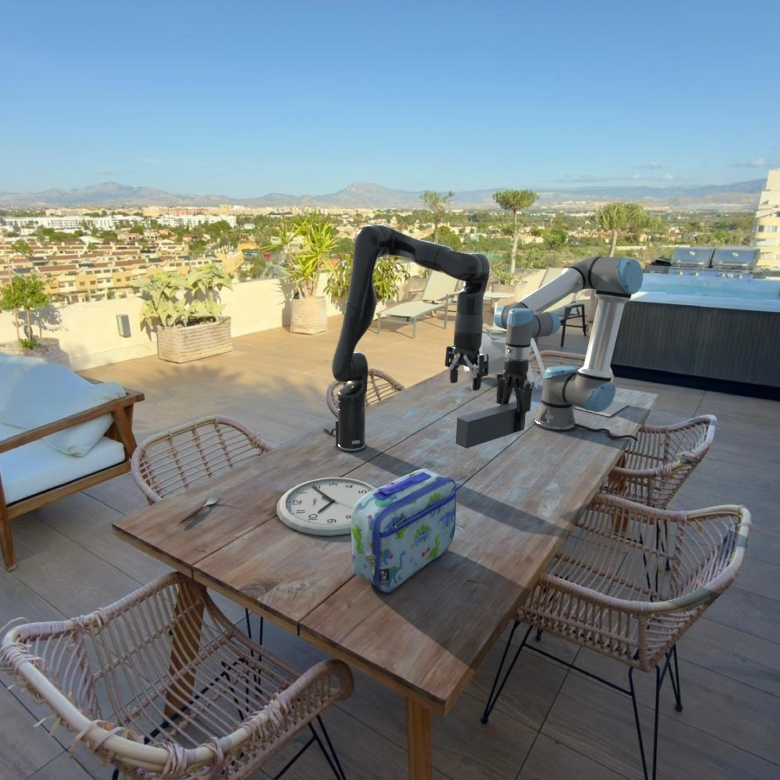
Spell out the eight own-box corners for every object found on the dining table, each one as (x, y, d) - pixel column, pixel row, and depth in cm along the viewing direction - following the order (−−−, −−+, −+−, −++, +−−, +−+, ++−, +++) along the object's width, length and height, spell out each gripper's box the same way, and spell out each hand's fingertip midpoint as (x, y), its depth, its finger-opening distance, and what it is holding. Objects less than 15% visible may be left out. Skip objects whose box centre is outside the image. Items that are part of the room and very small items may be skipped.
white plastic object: (484, 418, 267) (463, 395, 242) (465, 346, 289) (445, 318, 264) (554, 394, 255) (540, 367, 230) (529, 321, 277) (514, 289, 252)
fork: (175, 524, 132) (174, 517, 132) (215, 495, 146) (215, 489, 146) (183, 526, 131) (182, 519, 131) (223, 497, 146) (222, 490, 145)
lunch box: (379, 605, 105) (380, 513, 99) (344, 580, 112) (343, 493, 106) (459, 552, 123) (464, 471, 116) (425, 533, 130) (428, 456, 124)
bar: (513, 425, 174) (515, 401, 172) (524, 429, 171) (526, 405, 168) (455, 443, 159) (457, 417, 157) (466, 448, 156) (467, 421, 153)
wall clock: (392, 527, 129) (268, 531, 127) (391, 533, 130) (269, 537, 127) (383, 473, 158) (282, 475, 155) (383, 478, 158) (282, 480, 156)
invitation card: (608, 416, 214) (573, 407, 224) (608, 416, 214) (573, 408, 224) (628, 404, 229) (594, 396, 238) (628, 405, 229) (594, 397, 238)
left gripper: (440, 326, 145) (437, 382, 150) (478, 335, 134) (474, 395, 139) (459, 324, 149) (456, 378, 154) (497, 332, 139) (493, 390, 144)
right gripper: (487, 354, 168) (483, 422, 175) (531, 366, 154) (524, 439, 161) (503, 351, 172) (498, 418, 179) (547, 362, 158) (540, 434, 165)
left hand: (464, 386), depth 147 cm, fingers open, 8 cm apart
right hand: (510, 428), depth 170 cm, fingers closed on bar, 5 cm apart
